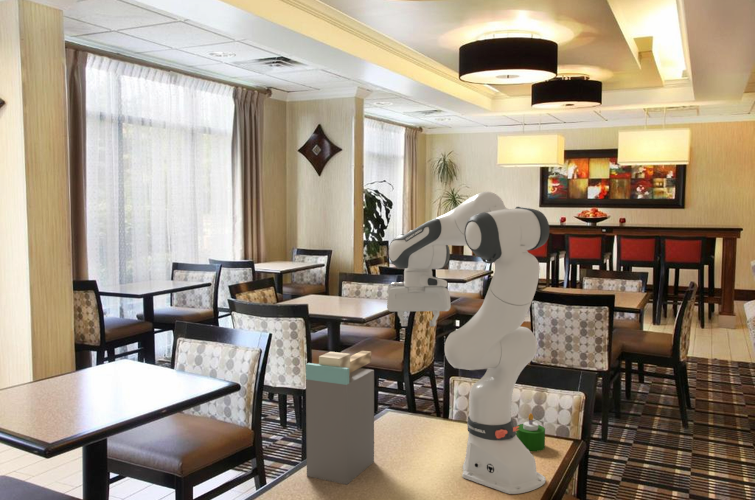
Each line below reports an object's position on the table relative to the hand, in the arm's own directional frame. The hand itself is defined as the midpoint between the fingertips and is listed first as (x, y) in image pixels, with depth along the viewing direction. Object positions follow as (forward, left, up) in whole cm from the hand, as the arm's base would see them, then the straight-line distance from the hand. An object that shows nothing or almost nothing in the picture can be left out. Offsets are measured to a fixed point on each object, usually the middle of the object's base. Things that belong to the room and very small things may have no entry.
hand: (418, 326), depth 202 cm
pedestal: (-10, +35, -34) cm, 49 cm away
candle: (-29, -19, -34) cm, 48 cm away
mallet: (-8, +31, -8) cm, 33 cm away
